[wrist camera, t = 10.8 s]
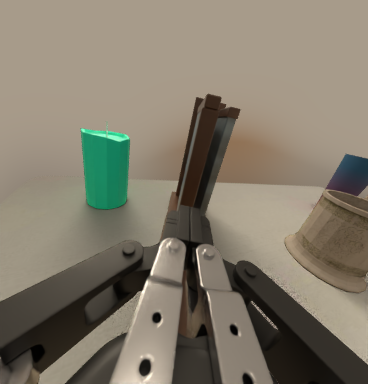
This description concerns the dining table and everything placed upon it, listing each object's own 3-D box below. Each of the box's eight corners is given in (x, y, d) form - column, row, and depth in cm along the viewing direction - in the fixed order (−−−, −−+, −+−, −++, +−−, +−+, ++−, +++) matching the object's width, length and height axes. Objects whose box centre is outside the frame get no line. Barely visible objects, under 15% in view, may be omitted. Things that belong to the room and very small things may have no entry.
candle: (83, 210, 21) (75, 118, 16) (88, 190, 26) (83, 114, 21) (128, 208, 24) (133, 128, 19) (125, 190, 29) (128, 123, 24)
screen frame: (133, 349, 10) (196, -70, 3) (170, 198, 30) (190, 97, 23) (219, 362, 11) (483, 19, 3) (200, 204, 30) (229, 106, 23)
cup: (347, 220, 39) (394, 165, 32) (331, 221, 36) (378, 161, 30) (319, 206, 45) (355, 156, 38) (304, 205, 42) (339, 152, 36)
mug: (360, 308, 17) (472, 222, 12) (274, 245, 23) (320, 173, 18) (370, 260, 25) (436, 198, 20) (304, 224, 32) (341, 171, 27)
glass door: (168, 252, 16) (205, 92, 10) (177, 200, 26) (197, 106, 20) (180, 254, 16) (223, 97, 10) (183, 202, 26) (206, 108, 20)
